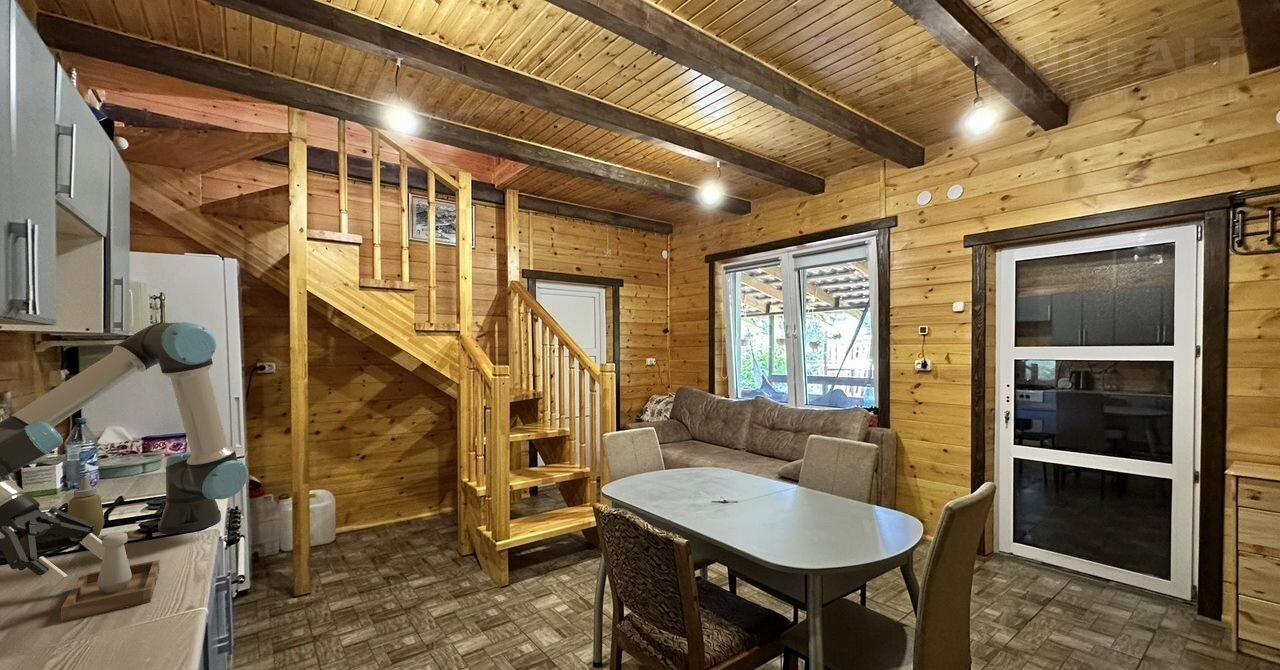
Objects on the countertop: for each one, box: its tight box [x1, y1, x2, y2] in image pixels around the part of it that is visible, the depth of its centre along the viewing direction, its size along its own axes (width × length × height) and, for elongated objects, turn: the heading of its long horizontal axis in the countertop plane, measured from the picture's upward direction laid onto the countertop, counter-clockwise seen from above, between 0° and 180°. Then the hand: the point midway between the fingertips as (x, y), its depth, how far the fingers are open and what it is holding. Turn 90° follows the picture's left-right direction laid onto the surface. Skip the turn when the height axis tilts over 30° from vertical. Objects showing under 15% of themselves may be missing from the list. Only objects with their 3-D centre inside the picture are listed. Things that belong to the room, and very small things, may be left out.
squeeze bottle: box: [66, 476, 105, 542], centre depth 157 cm, size 8×8×18 cm
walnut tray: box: [60, 559, 161, 623], centre depth 125 cm, size 19×14×3 cm
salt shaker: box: [97, 531, 132, 594], centre depth 125 cm, size 6×6×13 cm
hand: (86, 567), depth 123 cm, fingers open, 13 cm apart
